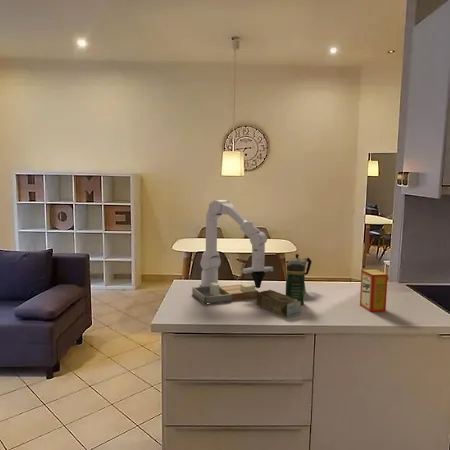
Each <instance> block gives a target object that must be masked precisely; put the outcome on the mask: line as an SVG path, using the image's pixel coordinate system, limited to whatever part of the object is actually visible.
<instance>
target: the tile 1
mask: <svg viewBox="0 0 450 450" xmlns="http://www.w3.org/2000/svg"><path fill="white" fill-rule="evenodd" d="M219 286H220V284H219V283H218V284H217V283H215V282H214V283H210V294H212V295H213V296H217V295H219Z"/></svg>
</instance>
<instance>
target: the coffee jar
mask: <svg viewBox="0 0 450 450" xmlns="http://www.w3.org/2000/svg"><path fill="white" fill-rule="evenodd" d="M285 264H286V266H285V267H286V270H285V271H286V274H285V275H286V276H285V295H286V296H289V297H292V298H294V299H297V300H300V301H301V306H302V305H304V302H305V301H304V299H305V296H304V295H305V292H304V282H305V277H306V275H305V273H306V268H305V265H304V264H303V263H302V262H300V261H292V260H291V261H290V262H288V263H285Z"/></svg>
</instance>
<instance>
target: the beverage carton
mask: <svg viewBox="0 0 450 450" xmlns="http://www.w3.org/2000/svg"><path fill="white" fill-rule="evenodd" d="M256 305H257V306H258V307H260V308H263V309H265V310H268V311H270V312H272V313H275V314H277V315H280V316H283V317H284V318H291V317H294V316H299V315H301V313H302V312H301V311H302V310H301V307H302V305H301V301H300V300H297V299H294V298H292V297H289V296H286V294H285V293H281V292H277V291H275V290H272V289H268V290H262V291H259V292H257V298H256Z"/></svg>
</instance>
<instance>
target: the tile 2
mask: <svg viewBox="0 0 450 450" xmlns="http://www.w3.org/2000/svg"><path fill="white" fill-rule="evenodd" d="M240 285H241V290H242V291H244V292H253V291H255V290H256V287H255V284H252V283H242V284H240Z"/></svg>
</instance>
